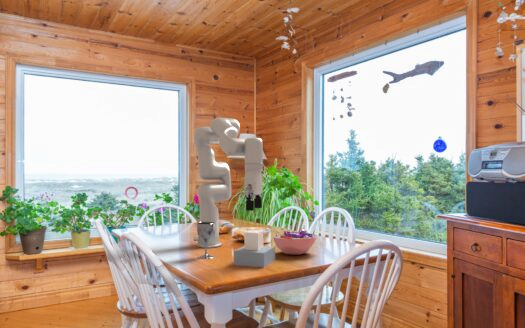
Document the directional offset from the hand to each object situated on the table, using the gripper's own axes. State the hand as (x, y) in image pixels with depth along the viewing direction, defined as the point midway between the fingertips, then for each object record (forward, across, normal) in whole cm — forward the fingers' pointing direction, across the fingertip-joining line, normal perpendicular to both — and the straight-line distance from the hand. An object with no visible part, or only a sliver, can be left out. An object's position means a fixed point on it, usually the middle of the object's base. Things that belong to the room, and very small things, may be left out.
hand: (254, 209), depth 158 cm
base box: (+22, 0, 0) cm, 22 cm away
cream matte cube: (+16, 0, 0) cm, 16 cm away
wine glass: (+22, -3, -24) cm, 33 cm away
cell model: (+22, -20, +12) cm, 32 cm away
